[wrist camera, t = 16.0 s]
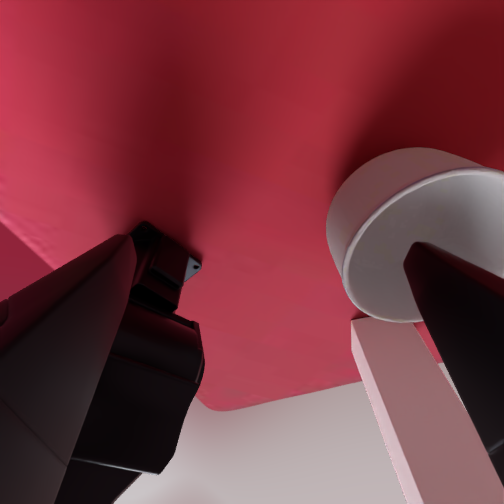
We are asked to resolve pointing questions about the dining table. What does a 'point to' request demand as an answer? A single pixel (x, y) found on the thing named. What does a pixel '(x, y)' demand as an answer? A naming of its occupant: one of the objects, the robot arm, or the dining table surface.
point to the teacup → (412, 223)
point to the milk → (422, 418)
